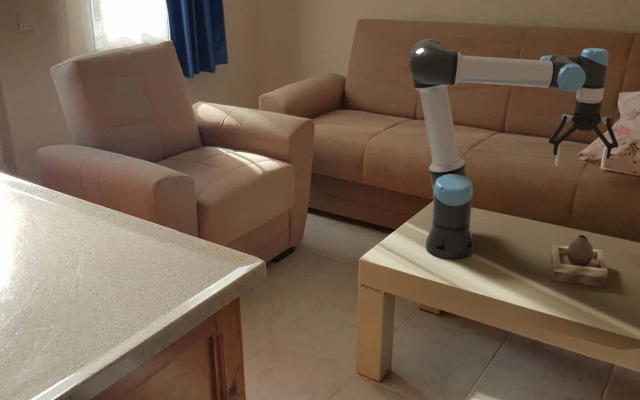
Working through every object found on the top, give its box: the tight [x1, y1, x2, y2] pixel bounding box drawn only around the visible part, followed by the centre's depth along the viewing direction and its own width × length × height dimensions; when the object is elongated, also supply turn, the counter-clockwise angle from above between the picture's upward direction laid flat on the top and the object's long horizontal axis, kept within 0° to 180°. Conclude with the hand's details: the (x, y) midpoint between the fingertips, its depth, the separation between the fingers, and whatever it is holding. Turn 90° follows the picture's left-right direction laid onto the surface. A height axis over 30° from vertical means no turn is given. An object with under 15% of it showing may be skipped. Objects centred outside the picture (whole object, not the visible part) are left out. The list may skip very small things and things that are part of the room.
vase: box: [567, 234, 594, 266], centre depth 182 cm, size 7×7×9 cm
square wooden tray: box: [550, 244, 609, 288], centre depth 183 cm, size 14×14×5 cm
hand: (579, 166), depth 198 cm, fingers open, 13 cm apart
